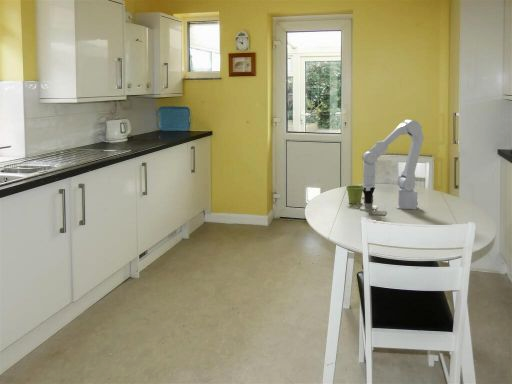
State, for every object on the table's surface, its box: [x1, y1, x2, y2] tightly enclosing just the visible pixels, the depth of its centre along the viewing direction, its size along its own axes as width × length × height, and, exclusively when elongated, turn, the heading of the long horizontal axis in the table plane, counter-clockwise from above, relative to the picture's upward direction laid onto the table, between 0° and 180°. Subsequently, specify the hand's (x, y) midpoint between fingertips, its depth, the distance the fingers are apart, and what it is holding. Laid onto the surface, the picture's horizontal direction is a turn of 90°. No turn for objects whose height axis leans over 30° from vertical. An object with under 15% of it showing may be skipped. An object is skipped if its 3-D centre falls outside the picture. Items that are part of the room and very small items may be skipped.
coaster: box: [368, 210, 387, 217], centre depth 272 cm, size 8×8×1 cm
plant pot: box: [345, 184, 364, 205], centre depth 296 cm, size 9×9×9 cm
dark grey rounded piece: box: [361, 194, 374, 205], centre depth 282 cm, size 6×4×4 cm
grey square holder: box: [359, 204, 378, 211], centre depth 282 cm, size 8×8×3 cm
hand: (368, 202), depth 282 cm, fingers closed on dark grey rounded piece, 4 cm apart
